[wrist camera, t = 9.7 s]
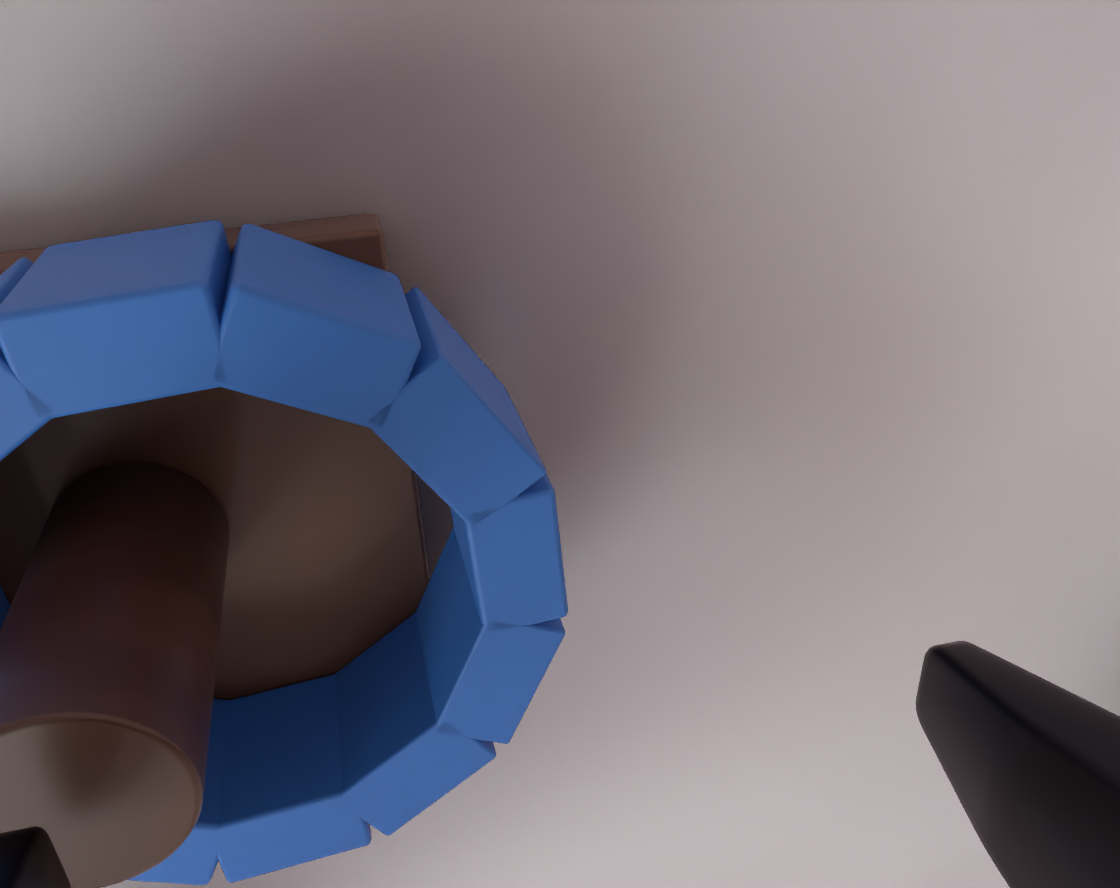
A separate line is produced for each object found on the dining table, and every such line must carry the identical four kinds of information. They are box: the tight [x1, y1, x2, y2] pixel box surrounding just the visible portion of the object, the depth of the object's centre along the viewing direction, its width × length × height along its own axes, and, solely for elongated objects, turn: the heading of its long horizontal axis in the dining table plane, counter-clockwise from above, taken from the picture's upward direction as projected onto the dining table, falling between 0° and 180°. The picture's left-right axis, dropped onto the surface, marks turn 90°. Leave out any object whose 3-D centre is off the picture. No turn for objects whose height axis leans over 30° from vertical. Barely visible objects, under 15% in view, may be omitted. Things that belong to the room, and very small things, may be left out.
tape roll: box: [0, 220, 568, 885], centre depth 12 cm, size 9×9×3 cm
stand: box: [0, 214, 430, 888], centre depth 12 cm, size 8×8×6 cm
